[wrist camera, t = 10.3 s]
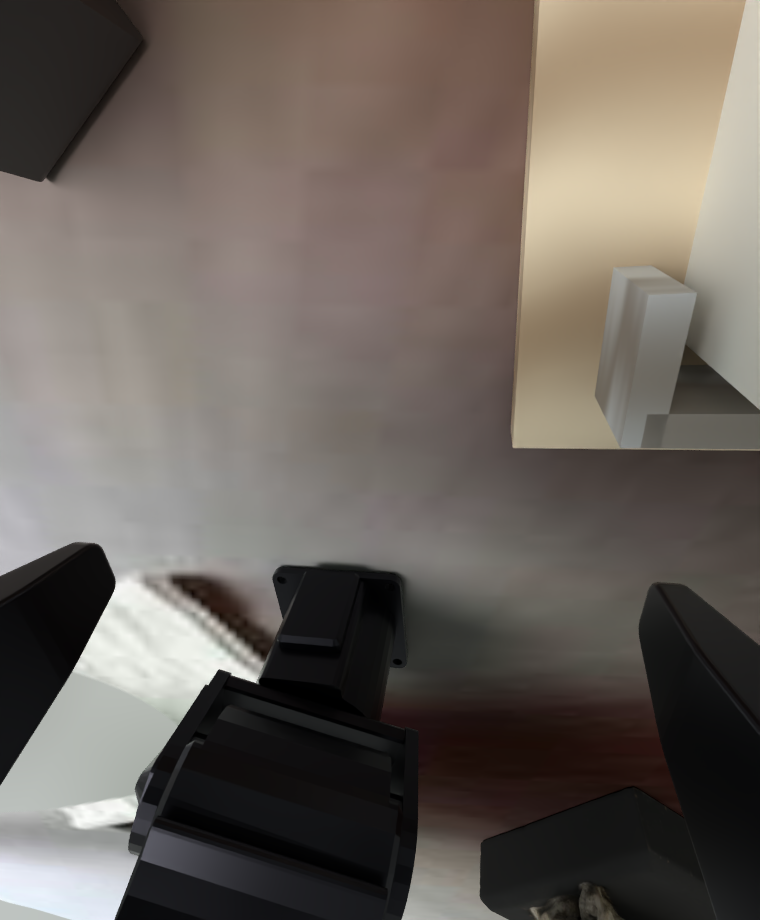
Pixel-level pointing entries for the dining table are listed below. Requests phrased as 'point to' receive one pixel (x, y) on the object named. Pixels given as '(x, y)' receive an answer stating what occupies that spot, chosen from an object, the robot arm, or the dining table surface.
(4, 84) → the door stopper
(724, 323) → the door
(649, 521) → the dining table surface
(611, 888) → the coral
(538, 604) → the dining table surface
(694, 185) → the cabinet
